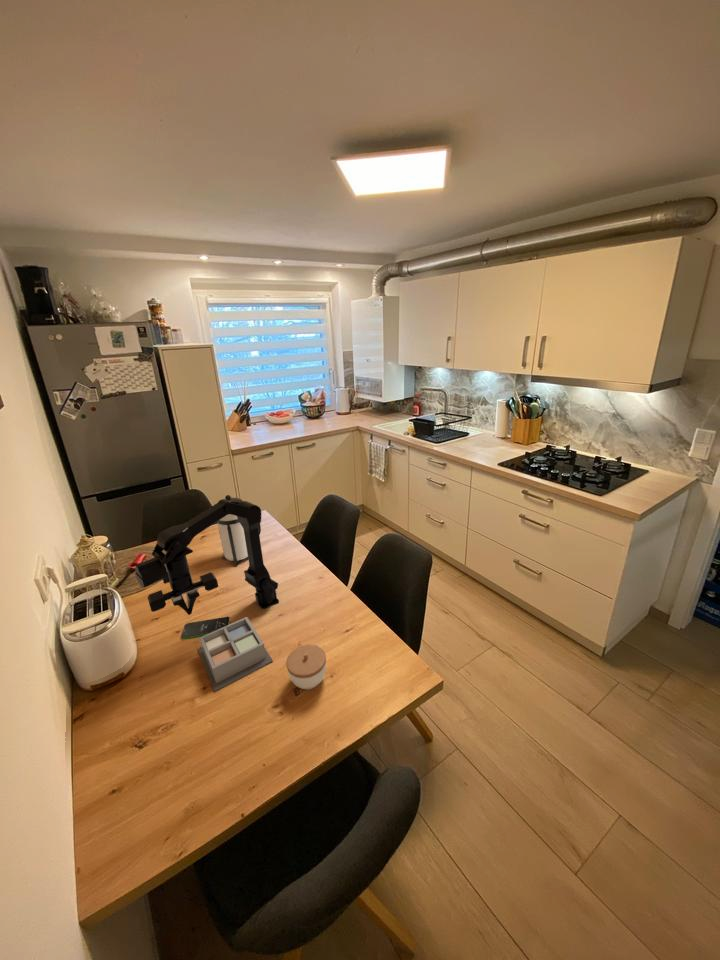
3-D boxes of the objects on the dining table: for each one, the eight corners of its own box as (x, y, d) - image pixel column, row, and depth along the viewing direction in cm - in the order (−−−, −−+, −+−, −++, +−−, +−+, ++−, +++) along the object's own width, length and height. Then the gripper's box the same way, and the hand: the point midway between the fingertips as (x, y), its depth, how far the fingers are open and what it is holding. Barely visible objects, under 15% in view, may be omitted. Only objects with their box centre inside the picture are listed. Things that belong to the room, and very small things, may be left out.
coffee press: (253, 566, 163) (242, 501, 152) (216, 567, 163) (202, 503, 153) (264, 545, 179) (254, 485, 168) (230, 546, 179) (218, 487, 169)
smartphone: (185, 623, 131) (230, 615, 133) (185, 625, 131) (230, 617, 133) (179, 638, 124) (227, 630, 126) (180, 641, 124) (228, 632, 126)
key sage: (254, 643, 119) (252, 634, 117) (261, 654, 114) (259, 645, 113) (236, 651, 116) (234, 643, 114) (242, 663, 111) (240, 654, 110)
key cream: (225, 642, 121) (223, 634, 120) (231, 653, 116) (229, 645, 115) (207, 651, 118) (205, 642, 117) (212, 662, 113) (210, 654, 112)
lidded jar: (296, 703, 100) (292, 676, 97) (284, 674, 109) (280, 648, 106) (334, 686, 104) (331, 659, 101) (319, 659, 113) (316, 634, 110)
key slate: (247, 632, 124) (245, 624, 123) (253, 643, 120) (251, 634, 119) (230, 640, 121) (228, 632, 120) (235, 651, 117) (233, 643, 116)
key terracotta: (232, 656, 115) (230, 647, 114) (238, 668, 111) (236, 659, 110) (213, 665, 112) (211, 656, 111) (219, 678, 108) (216, 669, 107)
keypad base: (250, 625, 128) (247, 611, 126) (272, 661, 113) (270, 646, 111) (197, 649, 119) (194, 635, 117) (214, 691, 105) (210, 676, 103)
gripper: (204, 548, 123) (213, 589, 129) (139, 570, 113) (152, 612, 119) (213, 563, 114) (223, 606, 120) (144, 588, 105) (158, 633, 110)
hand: (189, 613), depth 117 cm, fingers closed
